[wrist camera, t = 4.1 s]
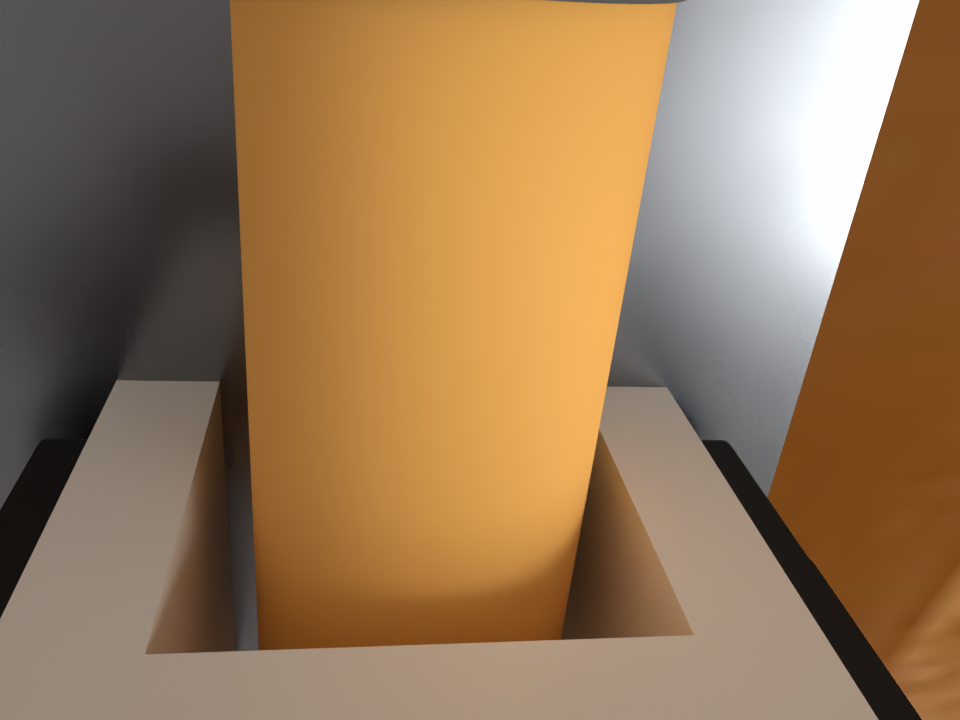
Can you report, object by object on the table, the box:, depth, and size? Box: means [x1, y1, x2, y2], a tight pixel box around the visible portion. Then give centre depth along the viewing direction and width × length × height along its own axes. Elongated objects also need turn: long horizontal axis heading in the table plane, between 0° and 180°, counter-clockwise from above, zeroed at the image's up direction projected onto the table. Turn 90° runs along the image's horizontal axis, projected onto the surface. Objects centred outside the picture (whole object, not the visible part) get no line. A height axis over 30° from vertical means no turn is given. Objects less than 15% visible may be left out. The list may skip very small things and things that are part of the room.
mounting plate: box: [0, 0, 919, 651], centre depth 10 cm, size 22×9×1 cm, turn 175°
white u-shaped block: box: [0, 380, 878, 720], centre depth 8 cm, size 4×6×5 cm
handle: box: [230, 0, 687, 650], centre depth 9 cm, size 14×3×3 cm, turn 175°
